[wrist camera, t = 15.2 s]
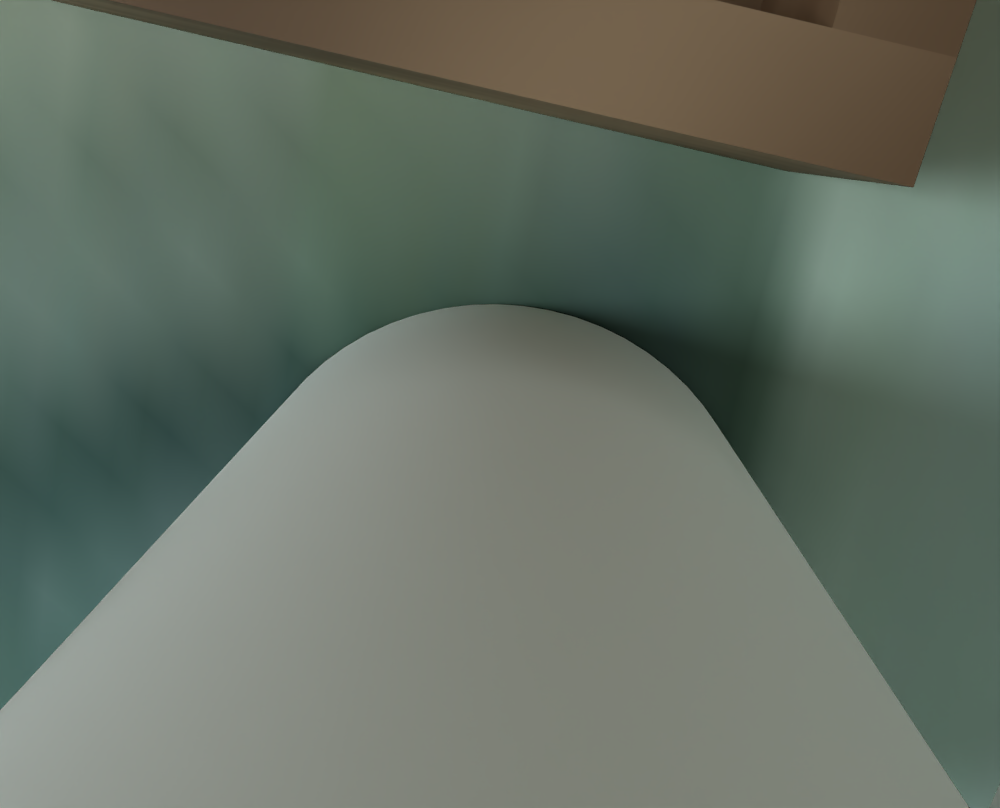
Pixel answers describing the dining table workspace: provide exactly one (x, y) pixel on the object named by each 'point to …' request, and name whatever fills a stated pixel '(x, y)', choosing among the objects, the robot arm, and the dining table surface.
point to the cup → (471, 608)
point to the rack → (643, 65)
